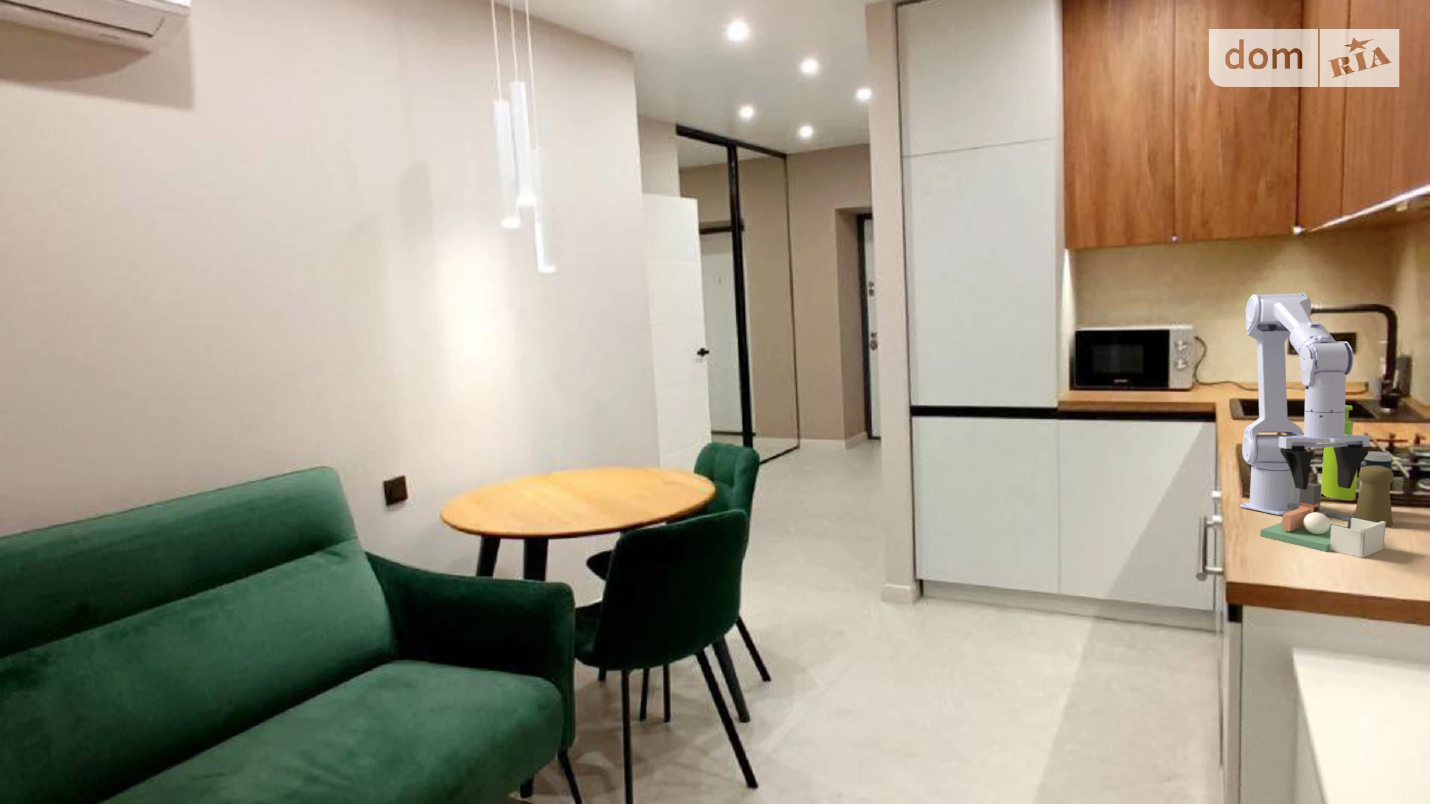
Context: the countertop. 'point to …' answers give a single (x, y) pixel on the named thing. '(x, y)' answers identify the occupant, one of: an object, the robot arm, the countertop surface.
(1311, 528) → the ball
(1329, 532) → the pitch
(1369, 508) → the cork
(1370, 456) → the beer can
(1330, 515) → the rod
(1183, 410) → the countertop surface
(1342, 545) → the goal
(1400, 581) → the countertop surface
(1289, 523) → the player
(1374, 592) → the countertop surface
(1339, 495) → the soap dispenser
